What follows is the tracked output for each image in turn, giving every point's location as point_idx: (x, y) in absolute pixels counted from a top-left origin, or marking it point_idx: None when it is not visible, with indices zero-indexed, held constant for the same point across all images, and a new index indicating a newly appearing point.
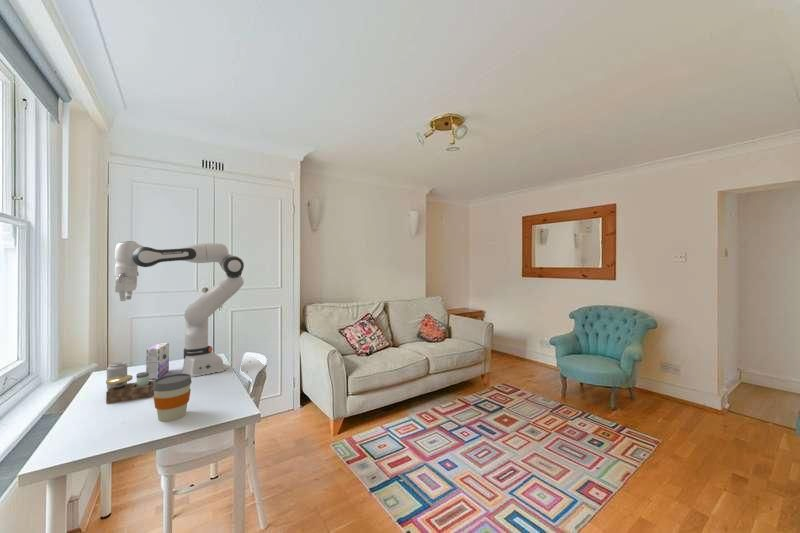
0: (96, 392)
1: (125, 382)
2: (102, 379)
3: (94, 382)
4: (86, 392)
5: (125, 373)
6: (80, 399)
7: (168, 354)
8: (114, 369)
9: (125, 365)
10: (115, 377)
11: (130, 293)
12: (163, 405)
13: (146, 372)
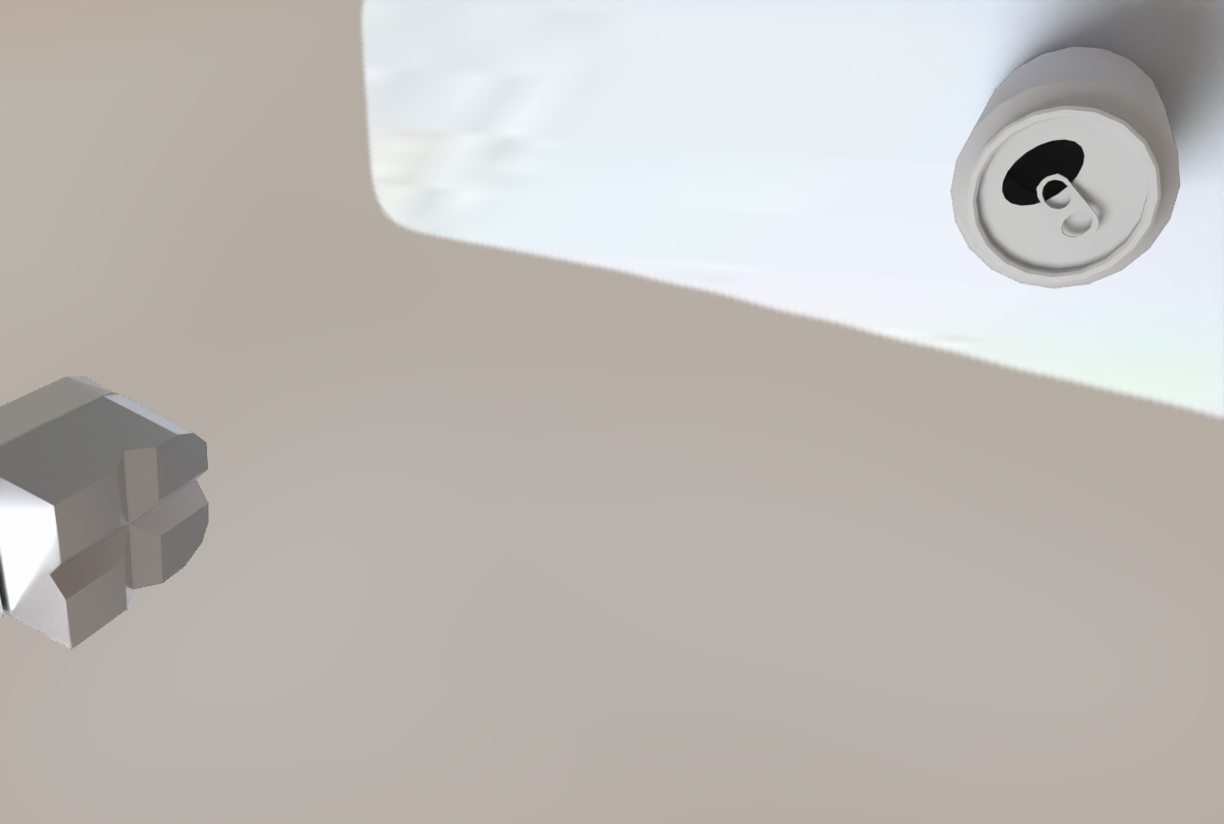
0: (1069, 291)
1: (1139, 70)
2: (636, 215)
3: (693, 273)
4: (988, 350)
5: (1143, 88)
6: (1195, 407)
7: None
8: (1164, 224)
9: (1125, 106)
10: None
11: None
12: None
13: None
